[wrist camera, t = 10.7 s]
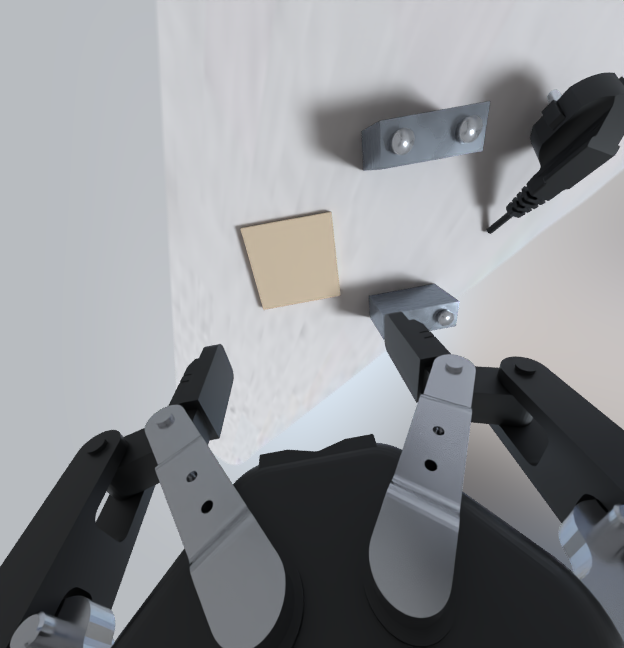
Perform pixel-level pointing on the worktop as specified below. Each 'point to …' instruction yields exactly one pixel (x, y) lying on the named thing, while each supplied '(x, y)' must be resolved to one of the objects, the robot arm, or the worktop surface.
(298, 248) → the mat
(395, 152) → the metal blocks
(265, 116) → the worktop surface
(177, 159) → the worktop surface
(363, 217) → the worktop surface
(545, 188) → the power plug
